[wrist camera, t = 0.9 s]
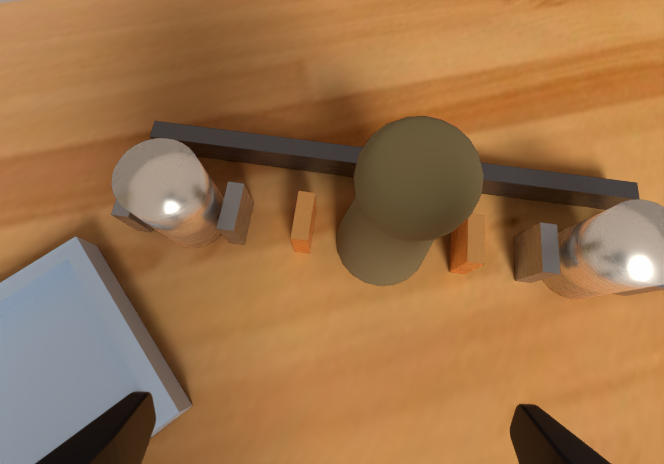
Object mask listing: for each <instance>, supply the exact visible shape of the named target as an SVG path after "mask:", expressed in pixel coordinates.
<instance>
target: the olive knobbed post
mask: <svg viewBox="0 0 664 464" xmlns="http://www.w3.org/2000/svg"><path fill="white" fill-rule="evenodd" d="M483 177H484V175H483V170H482V166H481V162H480V158H479V155H478V152H477V151H476V149H475V147H474V146H473V144H472V142H471V141H470V139H469V138H468V137H467V136H466V135H464V134H463V133H462V132H461V131H460V130H459V129H458V128H457V127H455V126H453V125H451V124H449V123H447V122H445V121H443V120H441V119H436V118H432V117H427V116H415V117H406V118H402V119H400V120H397V121H394V122H391V123H388V124H386V125H385V126H383V127H382V128H381V129H379V130H378V131H377V132H375V133H374V134H373V135H372V136H371V137H370V139H369V140H368V142H367V143H366V145H365V146H364V148H363V149H362V151H361V152H360V153H359V156H358V160H357V164H356V168H355V173H354V185H355V194H356V197H355V199H354V200H353V202H352V204H351V205H350V207H349V209H348V210H347V212H346V214H345V215H344V217H343V219H342V220H341V222H340V224H339V227H338V231H337V235H336V243H337V252H338V254H339V256H340V259H341V261H342V263H343V265H344V266H345V267H346V268H347V269H348V270H349V272H350V273H351V274H352V275H353V276H355V277H357V278H358V279H360V280H362V281H363V282H365V283H369V284H373V285H377V286H386V285H395V284H397V283H400V282H402V281H405V280H407V279H408V278H409V277H410V276H412V275H413V274H414V273H415V272H416V271H417V270H418V268H419V267H420V265H421V263H422V261H423V259H424V257H425V256H426V254H427V252H428V250H429V248H430V246H431V245H432V243H433V241H434V239H437V238H439V237H442V236H444V235H447V234H449V233H451V232H453V231H454V230H455V229H456V228H457V227H459V226H460V225H461V224H462V223H463V222H464V221H465V220H466V219H468V218H469V217H470V216H471V214H472V212H473V210H474V208H475V206H476V204H477V202H478V201H479V198H480V196H481V193H482V186H483Z"/></svg>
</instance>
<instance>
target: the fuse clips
mask: <svg viewBox="0 0 664 464" xmlns="http://www.w3.org/2000/svg"><path fill="white" fill-rule="evenodd" d="M150 137H151V139H150V140H147V141H144V142H141V143H139V144H137V145H135V146H134V147H132V148H131V149H129V150H128V151H127V152H126V153H125V154H124V155H123V156H122V157H121V158H120V160H119V161H118V163H117V164H116V166H115V169H114V171H113V175H112V190H113V193H114V196H115V198H116V201H115V204H114V207H113V210H112V213H111V215H113V216H114V217H116V218H118V219H119V220H121V221H122V222H124V223H126V224H127V225H129V226H131V227H132V228H134V229H136V230H138V231H145V232H152V230H153V228H154V229H155V230H157V231H158V232H160V233H161V234H163V235H164V236H166V237H167V238H169V239H170V240H171V241H173V242H174V243H176V244H178V245H180V246H183V247H187V248H198V247H203V246H206V245H208V244H210V243H212V242H214V241H215V240H216V239H218V238H219V237H220V236H221V234H222V235H223V236H224V237H225V238H226V239H227V240H228V241H229V243H236V244H243V245H245V241H246V236H247V231H248V227H249V222H250V217H251V213H252V208H253V203H254V202H253V200H252V198H251V196H250V194H249V192H248V190H247V188H246V186H245V184H242V183H235V182H228V184H227V188H226V192H225V196H224V197H223V195H222V194H221V193H220V191H219V190H218V188H217V187H216V185H215V184H214V182H213V181H212V179H211V178H210V176H209V175H208V173H207V172H206V170H205V169H204V167H203V166H202V164H201V163H200V161H199V160H198V158H197V157H204V158H212V159H219V160H227V161H235V162H243V163H250V164H258V165H266V166H273V167H281V168H289V169H297V170H304V171H312V172H320V173H327V174H335V175H343V176H351V177H354V173H355V168H356V164H357V160H358V156H359V153H360V152H361V151H362V149H363V148H362V147H354V146H347V145H339V144H331V143H323V142H315V141H308V140H300V139H292V138H284V137H276V136H269V135H261V134H253V133H245V132H237V131H230V130H222V129H214V128H206V127H198V126H191V125H183V124H175V123H167V122H159V121H155V122H154V125H153V128H152V131H151V134H150ZM481 166H482V170H483V175H484V177H483V186H482V194H490V195H497V196H505V197H513V198H520V199H528V200H536V201H544V202H551V203H559V204H567V205H574V206H582V207H590V208H598V209H605V211H603V212H601V213H599V214H597V215H595V216H592V217H590V218H588V219H586V220H584V221H582V222H580V223H578V224H575V225H573V226H571V227H569V228H567V229H565V230H563V231H561V232H559V233H558V230H557V224H549V223H541V222H540V223H538V224H536V225H535V226H533V227H531V228H529V229H528V230H526V231H524V232H522V233H520V234H519V235H517V236H515V237H514V246H515V281H521V282H529V283H532V282H535V281H539V280H543V282H544V283H545V284H546V285H547V286H548V287H549V288H550V289H551V290H552V291H554V292H555V293H557V294H558V295H560V296H563V297H566V298H569V299H583V298H589V297H595V296H601V295H606V294H619V295H626V296H627V295H634V294H640V293H646V292H652V291H659V290H664V207H663V206H661V205H659V204H657V203H654V202H651V201H647V200H640V199H639V193H638V186H637V183H635V182H627V181H619V180H612V179H604V178H596V177H588V176H581V175H573V174H565V173H557V172H549V171H542V170H534V169H526V168H518V167H510V166H503V165H495V164H487V163H481ZM315 214H316V200H315V193H311V192H304V191H299V192H298V197H297V203H296V209H295V215H294V221H293V226H292V232H291V238H290V239H291V242H292V245H293V248H294V251H296V252H303V253H310V247H311V240H312V234H313V227H314V221H315ZM484 264H485V215H480V214H471V216H470V217H469V218H468V219H466V220H465V221H464V222H463V223H462V224H461V225H460V226H459V227H457V228H456V229H455V230H454V231H453V232H451V237H450V270H449V272H453V273H461V274H466V273H468V272H470V271H472V270H474V269H476V268H478V267H480V266H482V265H484Z"/></svg>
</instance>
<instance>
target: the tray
mask: <svg viewBox="0 0 664 464" xmlns="http://www.w3.org/2000/svg"><path fill="white" fill-rule="evenodd" d="M134 391H144V392H150V393H151V394H152V397H153V402H154V408H155V413H156V423H155V427H154V430H153V433H152V435H151V438H152V437H153V436H154V435H156V434H157V433H158V432H159V431H161V430H162V429H163V428H165V427H166V426H167V425H169V424H170V423H171V422H172V421H174V420H175V419H176V418H178V417H179V416H180V415H181V414H183V413H184V412H185V411H187V410H188V409H189V408H190V407H192V404H191V402H190V401H189V399H188V397H187V396H186V394H185V392H184V391H183V389H182V387H181V386H180V384H179V382H178V381H177V379H176V377H175V376H174V374H173V372H172V371H171V369H170V367H169V366H168V364H167V362H166V361H165V359H164V357H163V356H162V354H161V352H160V351H159V349H158V347H157V346H156V344H155V342H154V341H153V339H152V337H151V336H150V334H149V332H148V331H147V329H146V327H145V326H144V324H143V322H142V320H141V319H140V317H139V315H138V314H137V312H136V310H135V309H134V307H133V305H132V304H131V302H130V300H129V299H128V297H127V295H126V294H125V292H124V290H123V289H122V287H121V285H120V284H119V282H118V280H117V279H116V277H115V275H114V274H113V272H112V270H111V269H110V267H109V265H108V264H107V262H106V260H105V259H104V257H103V255H102V254H101V252H100V250H99V249H98V247H97V245H95V244H93V243H90V242H88V241H86V240H84V239H81V238H79V237H77V236H75V237H74V238H72V239H70V240H69V241H67V242H66V243H64V244H62V245H61V246H59V247H57V248H56V249H54V250H53V251H51V252H49V253H48V254H46V255H44V256H43V257H41V258H40V259H38V260H36V261H35V262H33V263H31V264H30V265H28V266H27V267H25V268H23V269H22V270H20V271H18V272H17V273H15V274H14V275H12V276H10V277H9V278H7V279H5V280H4V281H2V282H1V283H0V464H35V463H36V462H38V461H39V460H40V459H42V458H43V457H44V456H46V455H47V454H48V453H50V452H51V451H53V450H54V449H55V448H57V447H58V446H59V445H61V444H62V443H63V442H65V441H66V440H67V439H69V438H70V437H71V436H73V435H74V434H76V433H77V432H78V431H80V430H81V429H82V428H84V427H85V426H86V425H88V424H89V423H90V422H92V421H93V420H95V419H96V418H97V417H99V416H100V415H101V414H103V413H104V412H105V411H107V410H108V409H109V408H111V407H112V406H113V405H115V404H116V403H118V402H119V401H120V400H122V399H123V398H124V397H126V396H127V395H128V394H130V393H132V392H134Z"/></svg>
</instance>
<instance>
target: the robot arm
mask: <svg viewBox="0 0 664 464" xmlns="http://www.w3.org/2000/svg"><path fill="white" fill-rule="evenodd" d="M155 423H156V413H155V408H154V402H153V397H152V394H151V393H150V392H144V391H134V392H132V393H130V394H128V395H127V396H126V397H124V398H123V399H122V400H120V401H119V402H118V403H116V404H115V405H113V406H112V407H111V408H109V409H108V410H107V411H105V412H104V413H103V414H101V415H100V416H99V417H97V418H96V419H95V420H93V421H92V422H90V423H89V424H88V425H86V426H85V427H84V428H82V429H81V430H80V431H78V432H77V433H76V434H74V435H73V436H71V437H70V438H69V439H67V440H66V441H65V442H63V443H62V444H61V445H59V446H58V447H57V448H55V449H54V450H53V451H51V452H50V453H48V454H47V455H46V456H44V457H43V458H42V459H40V460H39V461H38V462H36V463H35V464H141V463H142V460H143V457H144V454H145V452H146V449H147V446H148V444H149V441H150V438H151V435H152V433H153V430H154V427H155ZM510 437H511V440H512V443H513V446H514V449H515V452H516V455H517V458H518V461H519V464H611V463H610V462H608V461H607V460H606V459H605V458H603V457H602V456H601V455H599V454H598V453H597V452H596V451H594V450H593V449H592V448H591V447H589V446H588V445H587V444H585V443H584V442H583V441H582V440H580V439H579V438H578V437H577V436H575V435H574V434H573V433H571V432H570V431H569V430H568V429H566V428H565V427H564V426H563V425H561V424H560V423H559V422H557V421H556V420H555V419H554V418H552V417H551V416H550V415H549V414H547V413H546V412H545V411H543V410H542V409H541V408H540V407H538V406H536V405H534V404H519V405H518V406H517V407H516V409H515V413H514V416H513V419H512V422H511V426H510Z"/></svg>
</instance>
